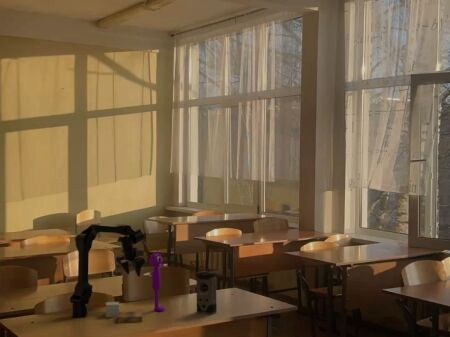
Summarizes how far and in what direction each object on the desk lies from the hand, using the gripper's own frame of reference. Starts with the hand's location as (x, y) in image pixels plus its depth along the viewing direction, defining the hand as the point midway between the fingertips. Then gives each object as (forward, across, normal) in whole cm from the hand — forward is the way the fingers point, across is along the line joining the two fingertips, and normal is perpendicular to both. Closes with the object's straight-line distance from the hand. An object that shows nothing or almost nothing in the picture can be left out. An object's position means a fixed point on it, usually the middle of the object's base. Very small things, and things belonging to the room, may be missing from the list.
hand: (133, 275), depth 324 cm
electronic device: (+18, -42, -9) cm, 47 cm away
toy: (+15, -21, +5) cm, 26 cm away
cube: (+10, -13, +25) cm, 30 cm away
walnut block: (+10, -26, +24) cm, 37 cm away
